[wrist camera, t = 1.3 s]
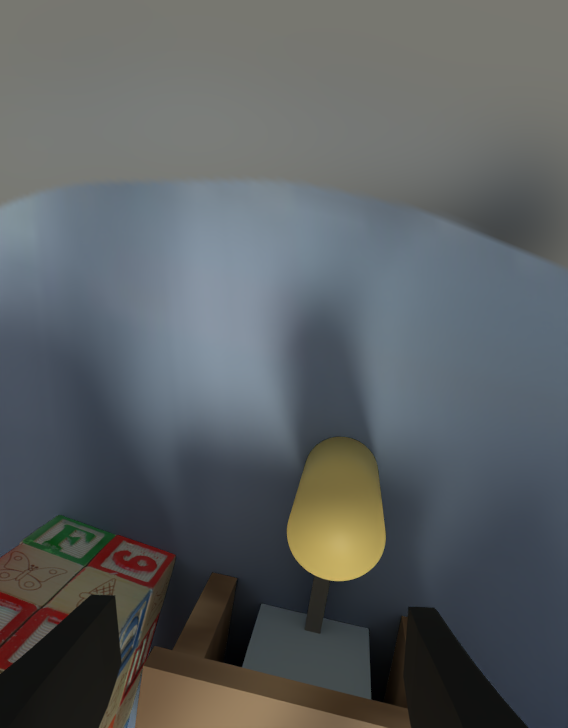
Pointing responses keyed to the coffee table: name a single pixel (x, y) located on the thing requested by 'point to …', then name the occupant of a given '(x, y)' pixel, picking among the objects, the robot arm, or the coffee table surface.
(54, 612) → the stack of blocks
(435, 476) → the coffee table surface
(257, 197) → the coffee table surface
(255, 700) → the open wooden box
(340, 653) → the cube joystick
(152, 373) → the coffee table surface
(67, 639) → the robot arm
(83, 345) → the coffee table surface
